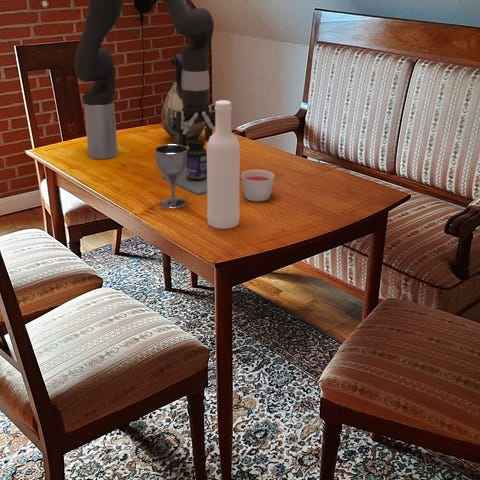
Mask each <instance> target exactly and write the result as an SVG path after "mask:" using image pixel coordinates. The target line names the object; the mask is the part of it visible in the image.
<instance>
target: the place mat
mask: <svg viewBox="0 0 480 480" xmlns="http://www.w3.org/2000/svg"><path fill="white" fill-rule="evenodd" d="M161 179H162V180H163V179H164V180H165V181H167V182H169V180H168V179H167V178H166V177H165V176H164V175H161ZM175 186H177V187H179V188H182V189H184V190H186V191H188V192H190V193H192V194H195V195H197V196H200V195H201V196H202V195H204V194H207V178H206V179H205V180H202V181H191V180H189V179H187V177H186V169H185V170H184V171H183V173H182V174H181V175H180V176H179V177H178V179H177V180H176V183H175Z"/></svg>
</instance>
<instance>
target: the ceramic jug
mask: <svg viewBox="0 0 480 480" xmlns="http://www.w3.org/2000/svg"><path fill="white" fill-rule="evenodd" d="M170 63H171V65H172V66H173V67H175V80H174V82H173V84H172V86H171V88H170V89H169V91H168V93H167V95H166V97H165V98H164V101H163V103H162V108H161V114H160V115H161V116H160V117H161V119H160V120H161V125H162V126H163V130H164V132H165V133H167V134H168V136H170V138H171V139H172V142H173V143H176V144H180V143H179V133H177V132H174V131H173V130H172V124H173V111H174V110H177V111H180V110H182V109H183V103H182V53H178V54H176V55H175V57H174V56H171V59H170ZM182 117H184V116H183V115H182ZM182 119H183V118H181V121H182ZM186 123H188V121H186ZM205 128H206V127H205V125H204V124H203V122H202V123H196V124H192V126H191V127H190V128H189V129H188V131H187V132H186V134H187V145H188V141H189V140H193V139H200V135H201V134H202V133H203V131H205Z"/></svg>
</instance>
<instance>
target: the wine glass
mask: <svg viewBox="0 0 480 480" xmlns="http://www.w3.org/2000/svg"><path fill="white" fill-rule="evenodd" d="M187 149H188V148H187V147H185V146H183V145H180V144H179V143H176V144H174V143H172V144H171V143H169V144H162V145H158V146H157V147H155V158H156V159H155V161H156V164H157V167H158V170H159V171H160V173H161V174H162V176H165V177H166V178H167V179H168V180H169V181H168V182H169V185H170V190H171V198H164V199H163V200H161V201H160V203H159V205H160V206H161V207H163V208H166V209H180V208H183V207H185V206H187V204H188V202H187V200H186V199H183V198H178V197H175V194H176V193H175V191H176V190H175V189H176V185H175V183H176V180H177V179H178V177H179V176H180V175H181V174H182V173H183V171H184V170H186V162H187Z"/></svg>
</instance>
